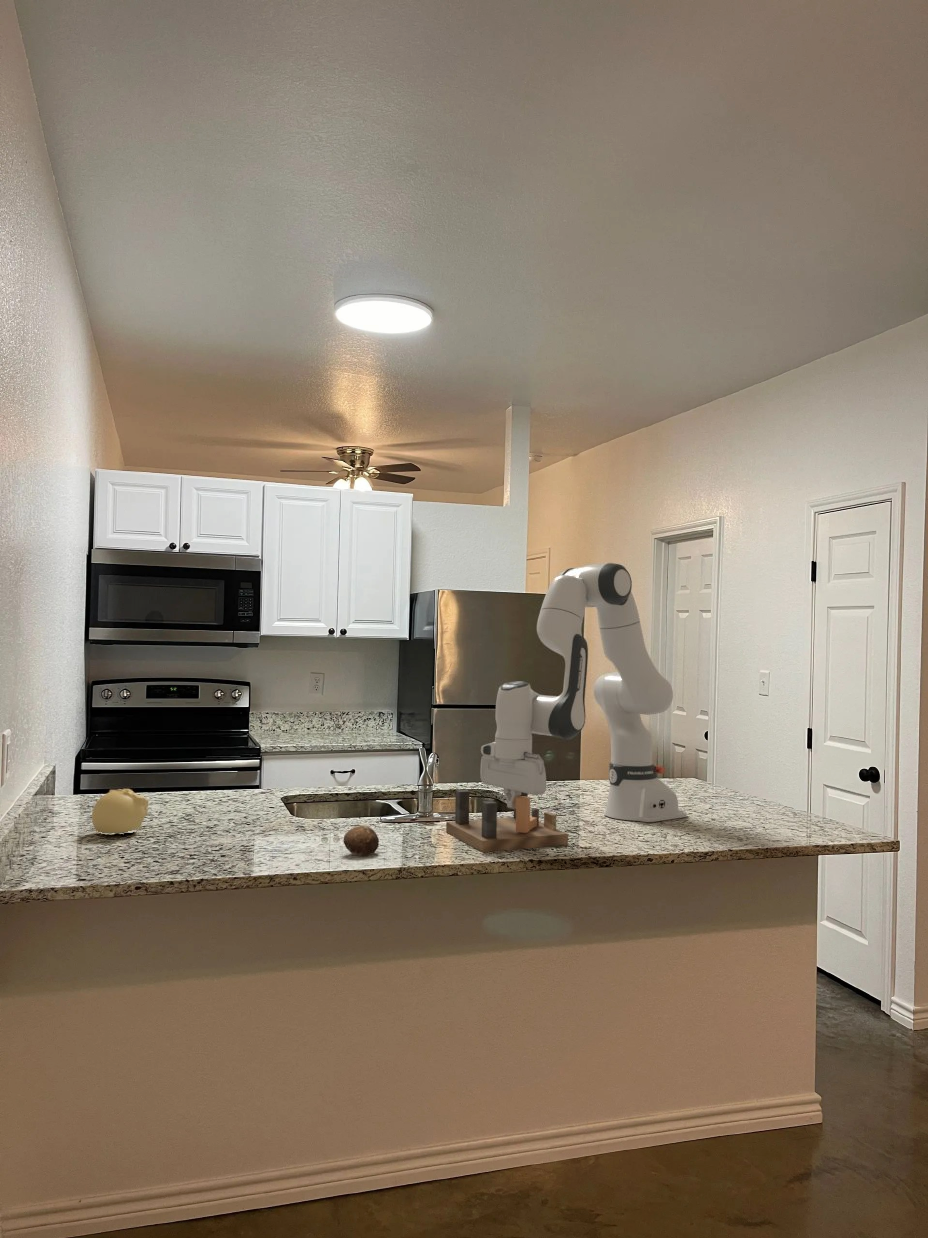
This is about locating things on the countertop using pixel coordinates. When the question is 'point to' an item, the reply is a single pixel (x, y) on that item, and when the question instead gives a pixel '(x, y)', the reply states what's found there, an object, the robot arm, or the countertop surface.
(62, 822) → the countertop surface
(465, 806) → the wooden peg board
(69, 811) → the countertop surface
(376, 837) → the brown rounded lump
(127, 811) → the sculpture
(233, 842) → the countertop surface
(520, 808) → the l-shaped wooden block
